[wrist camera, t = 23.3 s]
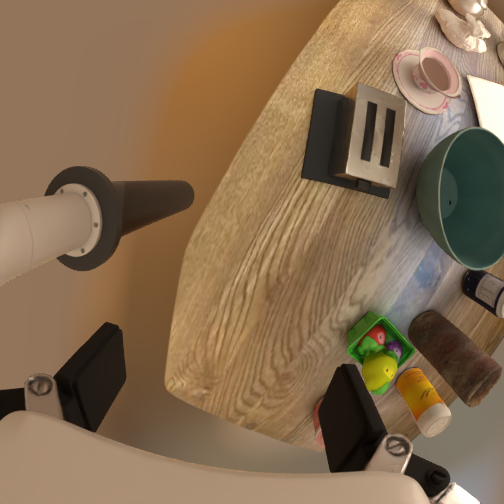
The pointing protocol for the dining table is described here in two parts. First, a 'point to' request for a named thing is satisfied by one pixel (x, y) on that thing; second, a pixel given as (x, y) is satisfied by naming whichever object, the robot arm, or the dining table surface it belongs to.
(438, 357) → the candle
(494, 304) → the beverage can
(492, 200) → the plant pot
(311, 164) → the mat
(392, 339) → the fruit basket
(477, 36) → the bust
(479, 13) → the cream glossy round piece
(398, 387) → the beer can
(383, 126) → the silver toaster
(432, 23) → the dining table surface
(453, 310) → the dining table surface
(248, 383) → the dining table surface
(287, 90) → the dining table surface
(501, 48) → the mug
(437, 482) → the robot arm
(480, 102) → the plate
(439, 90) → the teacup
